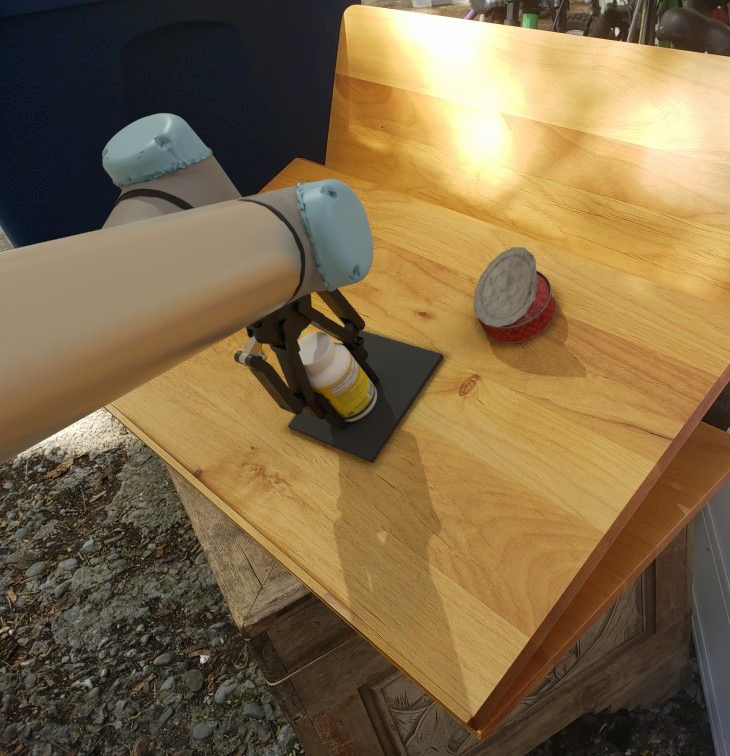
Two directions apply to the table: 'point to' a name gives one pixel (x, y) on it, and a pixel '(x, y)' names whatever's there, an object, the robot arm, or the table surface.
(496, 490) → the table surface
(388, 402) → the mat
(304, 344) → the pill bottle
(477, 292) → the canned food
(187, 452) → the table surface
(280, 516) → the table surface
